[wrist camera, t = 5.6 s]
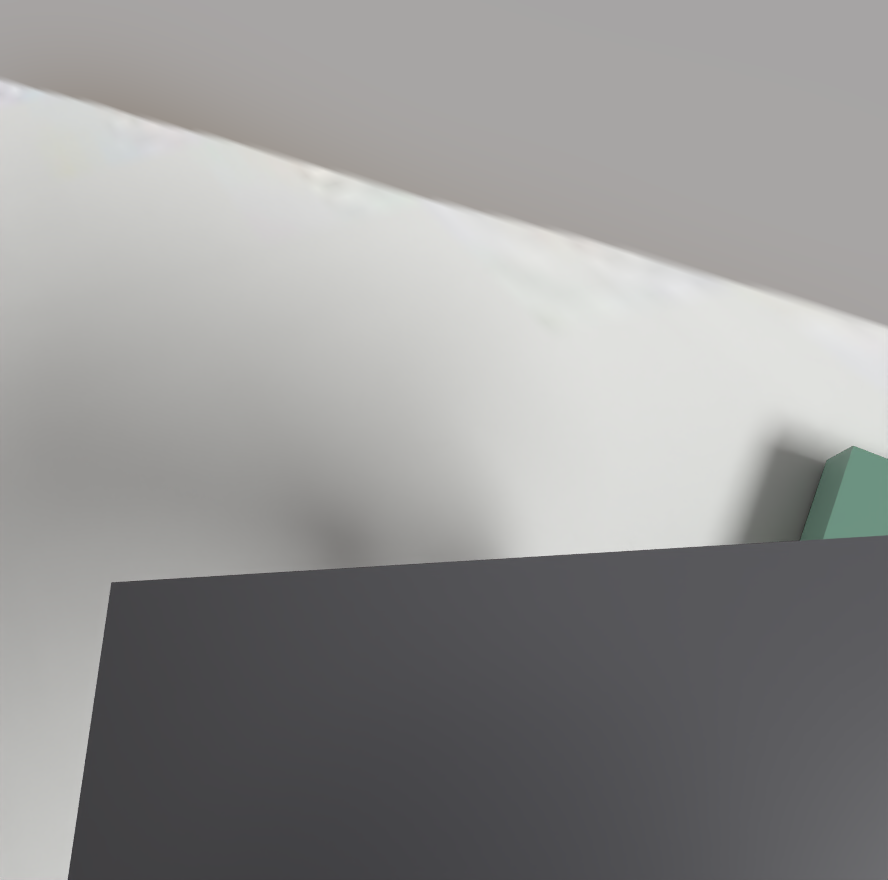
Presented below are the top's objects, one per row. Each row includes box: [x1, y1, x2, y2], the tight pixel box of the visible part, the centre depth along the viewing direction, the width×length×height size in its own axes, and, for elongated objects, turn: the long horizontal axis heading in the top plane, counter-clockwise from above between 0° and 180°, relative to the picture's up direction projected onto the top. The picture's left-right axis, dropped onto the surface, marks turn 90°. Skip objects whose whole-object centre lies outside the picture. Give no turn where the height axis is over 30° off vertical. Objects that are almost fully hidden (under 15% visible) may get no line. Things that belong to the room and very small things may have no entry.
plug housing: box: [68, 535, 888, 880], centre depth 8 cm, size 4×5×12 cm
